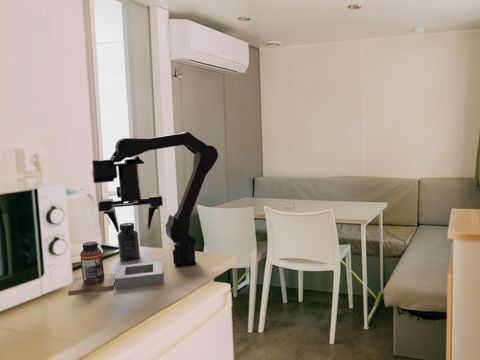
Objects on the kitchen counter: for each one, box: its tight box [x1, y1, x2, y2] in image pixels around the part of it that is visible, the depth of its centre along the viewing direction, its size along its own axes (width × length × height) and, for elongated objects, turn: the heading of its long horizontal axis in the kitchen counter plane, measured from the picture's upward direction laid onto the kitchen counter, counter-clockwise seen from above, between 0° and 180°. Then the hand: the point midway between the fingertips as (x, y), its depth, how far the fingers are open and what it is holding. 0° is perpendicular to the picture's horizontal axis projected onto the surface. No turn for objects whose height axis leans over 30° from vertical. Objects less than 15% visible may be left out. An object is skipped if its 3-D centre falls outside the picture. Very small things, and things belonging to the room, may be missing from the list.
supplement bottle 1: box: [79, 240, 105, 284], centre depth 136 cm, size 6×6×11 cm
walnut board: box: [67, 272, 116, 295], centre depth 136 cm, size 12×12×1 cm
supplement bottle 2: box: [117, 222, 141, 262], centre depth 162 cm, size 7×7×12 cm
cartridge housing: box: [114, 260, 164, 290], centre depth 138 cm, size 13×13×3 cm
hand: (133, 230), depth 145 cm, fingers open, 9 cm apart
